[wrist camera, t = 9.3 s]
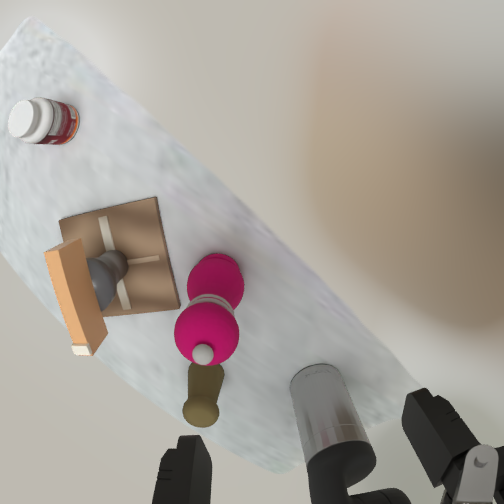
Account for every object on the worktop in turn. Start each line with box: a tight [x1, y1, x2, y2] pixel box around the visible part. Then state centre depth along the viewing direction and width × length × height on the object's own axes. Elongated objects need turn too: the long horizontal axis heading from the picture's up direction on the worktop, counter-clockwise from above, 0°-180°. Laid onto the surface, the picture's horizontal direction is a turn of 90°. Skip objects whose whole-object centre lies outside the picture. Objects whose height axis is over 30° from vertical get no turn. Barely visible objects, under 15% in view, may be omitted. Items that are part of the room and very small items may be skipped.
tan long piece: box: [44, 238, 117, 356], centre depth 29 cm, size 6×12×8 cm, turn 6°
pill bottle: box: [8, 97, 79, 145], centre depth 30 cm, size 6×6×11 cm
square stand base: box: [59, 197, 181, 317], centre depth 37 cm, size 16×16×8 cm
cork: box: [182, 363, 224, 428], centre depth 42 cm, size 6×6×11 cm
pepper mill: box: [174, 253, 244, 366], centre depth 32 cm, size 7×7×20 cm
